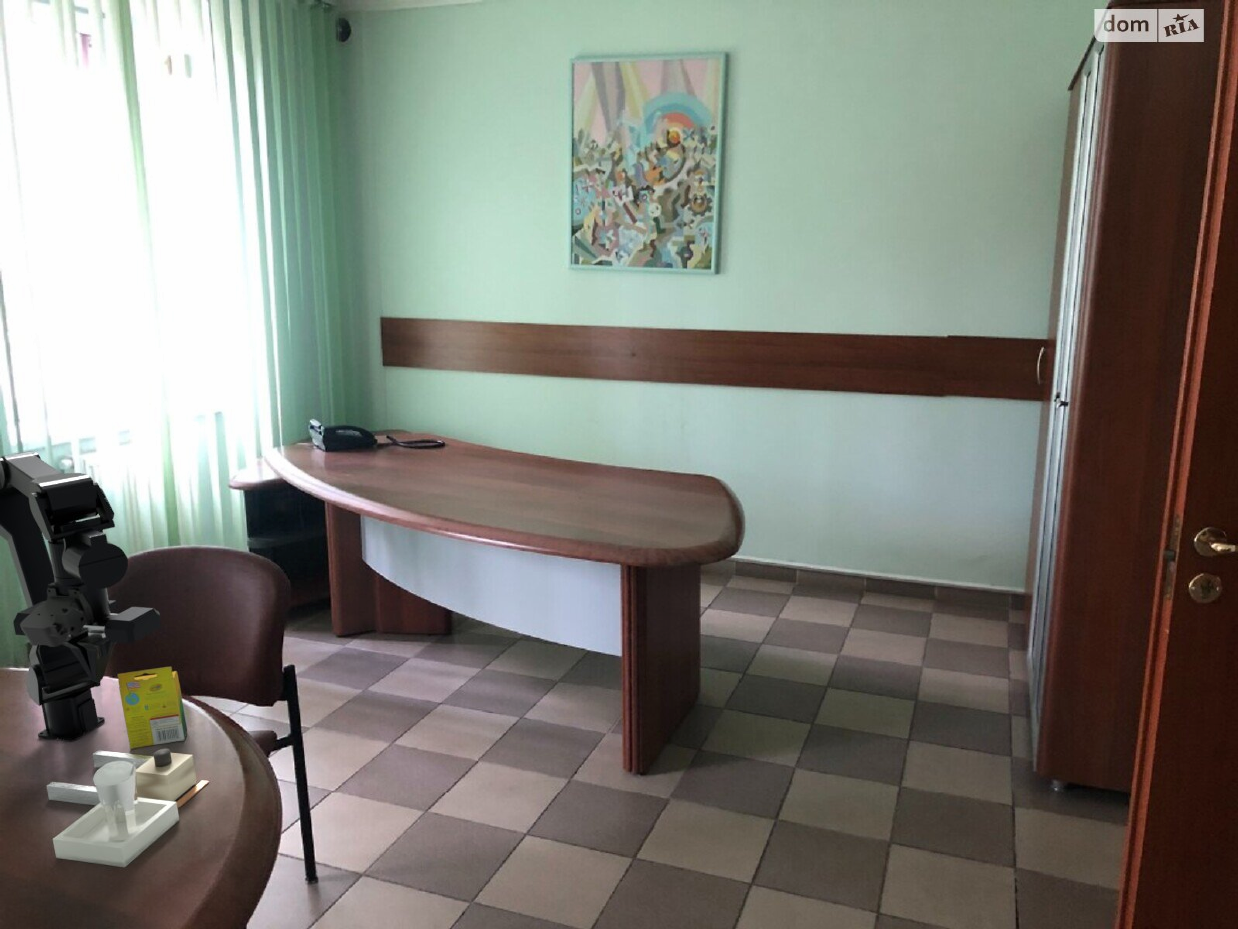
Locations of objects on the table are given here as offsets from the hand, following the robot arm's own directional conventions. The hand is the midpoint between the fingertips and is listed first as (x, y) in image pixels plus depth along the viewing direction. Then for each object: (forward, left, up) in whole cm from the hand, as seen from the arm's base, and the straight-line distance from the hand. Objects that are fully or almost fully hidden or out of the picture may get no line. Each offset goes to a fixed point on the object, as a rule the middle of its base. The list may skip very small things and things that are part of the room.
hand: (97, 680), depth 131 cm
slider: (+12, -4, -13) cm, 18 cm away
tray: (+13, -14, -13) cm, 23 cm away
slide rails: (+7, -4, -13) cm, 15 cm away
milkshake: (+14, -14, -13) cm, 23 cm away
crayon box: (+1, +8, -13) cm, 15 cm away
